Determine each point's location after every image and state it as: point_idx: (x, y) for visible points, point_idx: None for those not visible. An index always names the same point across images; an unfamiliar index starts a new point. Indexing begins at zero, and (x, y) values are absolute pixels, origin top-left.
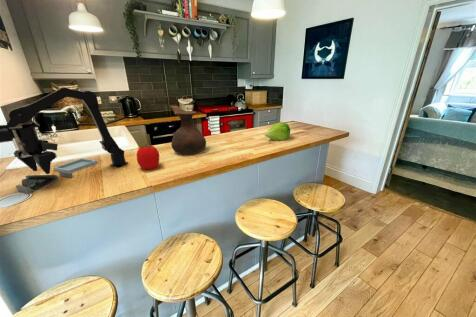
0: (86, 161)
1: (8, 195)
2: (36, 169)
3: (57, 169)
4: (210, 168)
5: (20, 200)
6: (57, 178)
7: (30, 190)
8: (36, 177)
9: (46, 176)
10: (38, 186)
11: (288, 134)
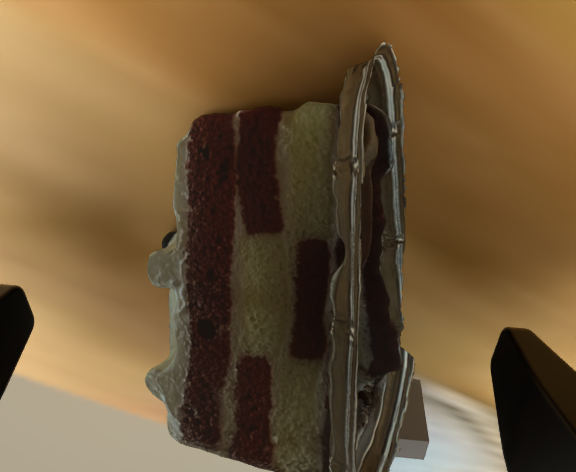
0: None
1: None
2: (2, 311)
3: None
4: None
5: (468, 465)
6: (375, 60)
7: (424, 413)
8: (332, 397)
9: (345, 256)
10: (383, 328)
11: None
